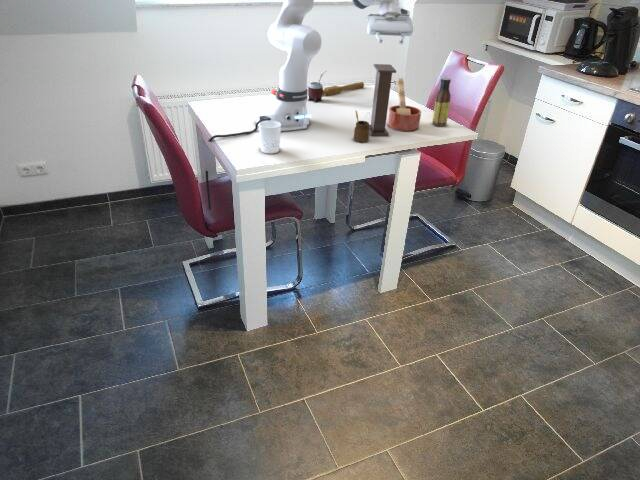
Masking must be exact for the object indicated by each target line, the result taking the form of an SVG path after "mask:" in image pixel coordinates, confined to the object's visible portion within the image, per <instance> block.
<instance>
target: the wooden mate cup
mask: <svg viewBox="0 0 640 480" xmlns="http://www.w3.org/2000/svg"><path fill="white" fill-rule="evenodd" d="M368 116H369V119H368V121H367V120H366V118H363V120H359V113H358V110H356V109H355V117H356V123H355V126H354V130H353V140H354V141H355V142H358V143H366V142H368V141H369V139H370V132H369V125H370V122H371V117H372V116H371V112H368ZM364 117H367V114H365V115H364Z"/></svg>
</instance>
